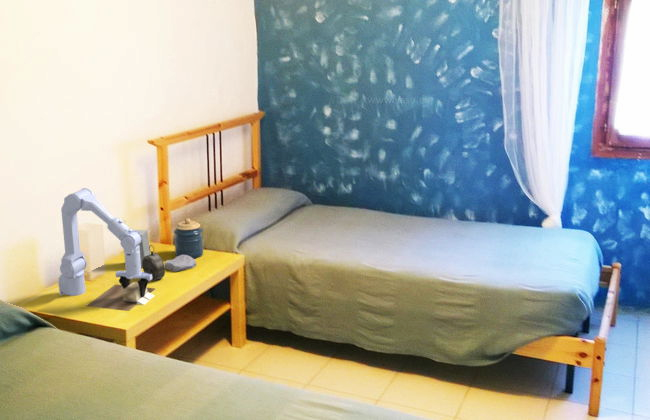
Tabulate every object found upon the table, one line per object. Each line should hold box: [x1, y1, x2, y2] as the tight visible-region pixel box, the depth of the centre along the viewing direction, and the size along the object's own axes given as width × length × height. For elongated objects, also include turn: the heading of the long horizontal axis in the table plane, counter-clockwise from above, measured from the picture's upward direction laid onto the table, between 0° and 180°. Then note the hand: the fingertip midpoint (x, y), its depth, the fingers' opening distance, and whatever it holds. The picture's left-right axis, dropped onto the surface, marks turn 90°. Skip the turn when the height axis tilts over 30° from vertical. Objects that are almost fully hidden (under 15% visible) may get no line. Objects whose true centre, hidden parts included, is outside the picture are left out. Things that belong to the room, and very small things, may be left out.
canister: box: [173, 217, 204, 259], centre depth 320 cm, size 13×13×18 cm
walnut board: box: [85, 283, 156, 312], centre depth 272 cm, size 18×22×2 cm
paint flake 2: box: [143, 292, 156, 301], centre depth 271 cm, size 4×4×1 cm
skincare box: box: [134, 229, 151, 268], centre depth 307 cm, size 8×7×16 cm
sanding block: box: [122, 281, 148, 302], centre depth 269 cm, size 6×9×4 cm, turn 167°
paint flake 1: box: [137, 297, 150, 306], centre depth 267 cm, size 4×4×1 cm
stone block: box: [164, 255, 197, 273], centre depth 307 cm, size 12×5×10 cm
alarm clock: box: [141, 244, 166, 281], centre depth 288 cm, size 11×5×16 cm, turn 47°
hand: (135, 295), depth 270 cm, fingers closed on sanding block, 6 cm apart
